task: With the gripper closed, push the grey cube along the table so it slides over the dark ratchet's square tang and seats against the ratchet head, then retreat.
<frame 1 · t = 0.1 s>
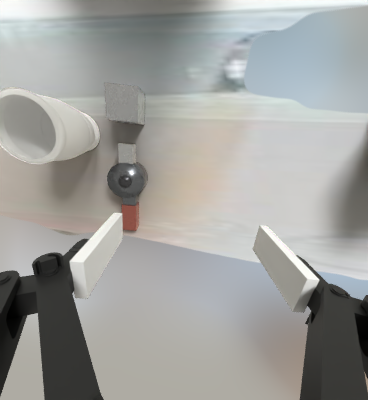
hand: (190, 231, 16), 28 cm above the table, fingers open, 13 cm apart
grey cube: (126, 105, 34), point 3 cm above the table, slide at 0.0 cm
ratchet: (131, 176, 43), on the table
jar: (82, 132, 39), on the table
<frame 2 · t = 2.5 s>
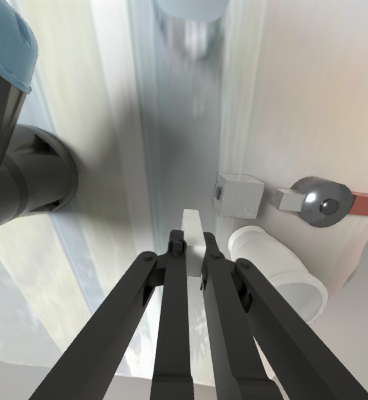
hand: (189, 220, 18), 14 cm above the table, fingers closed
grey cube: (234, 194, 29), point 3 cm above the table, slide at 0.0 cm
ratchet: (307, 196, 33), on the table
jar: (246, 241, 37), on the table
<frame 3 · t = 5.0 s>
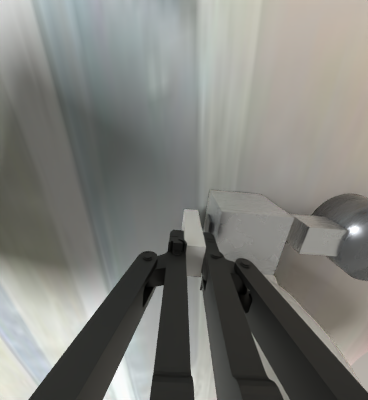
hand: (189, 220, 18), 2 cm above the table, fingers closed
grey cube: (237, 228, 17), point 3 cm above the table, slide at 1.3 cm, touching gripper
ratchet: (339, 224, 21), on the table
jar: (245, 286, 25), on the table
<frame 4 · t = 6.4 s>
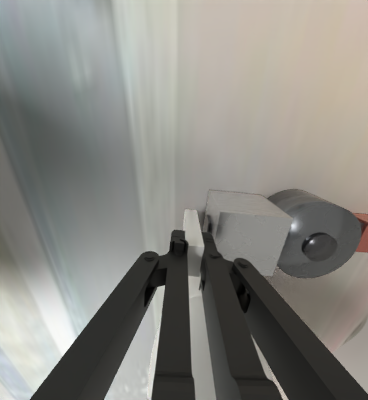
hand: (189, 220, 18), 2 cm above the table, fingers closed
grey cube: (236, 228, 17), point 3 cm above the table, slide at 8.2 cm, touching gripper, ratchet
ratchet: (286, 220, 21), on the table
jar: (198, 284, 24), on the table
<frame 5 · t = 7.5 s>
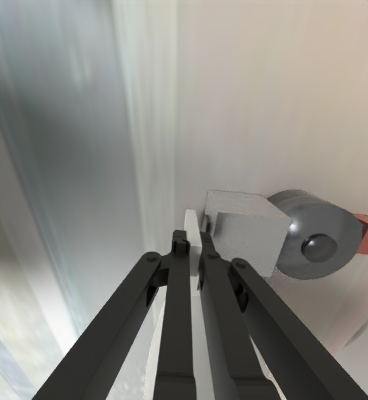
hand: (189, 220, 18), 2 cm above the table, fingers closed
grey cube: (235, 229, 17), point 3 cm above the table, slide at 8.2 cm, touching gripper, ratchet
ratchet: (286, 221, 20), on the table
jar: (197, 284, 24), on the table
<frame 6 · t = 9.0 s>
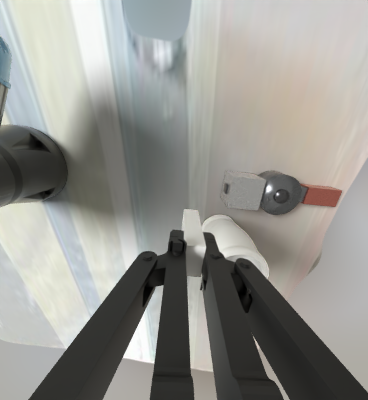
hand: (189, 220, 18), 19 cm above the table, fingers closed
grey cube: (240, 189, 34), point 3 cm above the table, slide at 8.0 cm
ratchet: (268, 188, 37), on the table
jar: (217, 229, 41), on the table
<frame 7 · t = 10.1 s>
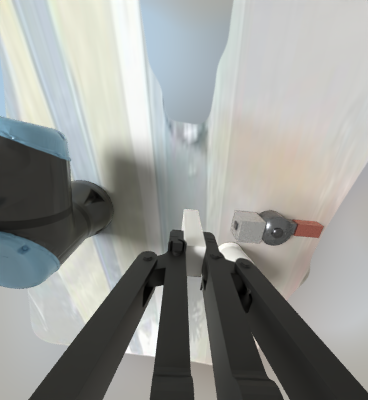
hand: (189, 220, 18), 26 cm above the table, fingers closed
grey cube: (246, 226, 45), point 3 cm above the table, slide at 8.0 cm
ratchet: (267, 223, 48), on the table
jar: (227, 252, 52), on the table
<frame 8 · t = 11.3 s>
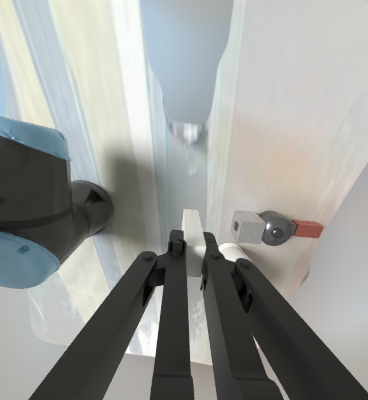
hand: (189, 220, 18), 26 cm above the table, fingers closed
grey cube: (246, 226, 45), point 3 cm above the table, slide at 8.0 cm
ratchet: (267, 223, 48), on the table
jar: (227, 253, 52), on the table
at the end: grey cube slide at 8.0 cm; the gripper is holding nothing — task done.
